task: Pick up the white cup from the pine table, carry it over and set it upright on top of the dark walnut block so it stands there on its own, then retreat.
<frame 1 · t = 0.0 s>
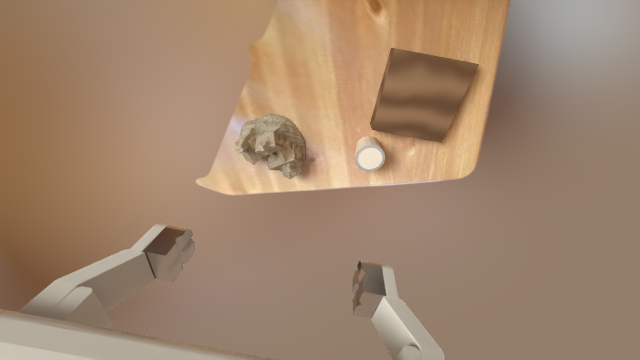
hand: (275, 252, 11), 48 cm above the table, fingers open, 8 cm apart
white cup: (367, 146, 59), on the table
walnut block: (414, 94, 52), on the table
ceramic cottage: (274, 143, 61), on the table
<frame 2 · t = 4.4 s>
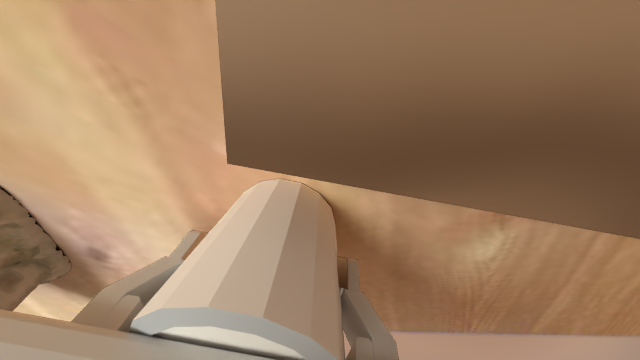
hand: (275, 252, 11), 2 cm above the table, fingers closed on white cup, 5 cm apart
white cup: (286, 218, 13), on the table, touching gripper
when the fingers open (8 cm above the table, at t = 10.5 s): white cup stays where it is, point 4 cm above the table.
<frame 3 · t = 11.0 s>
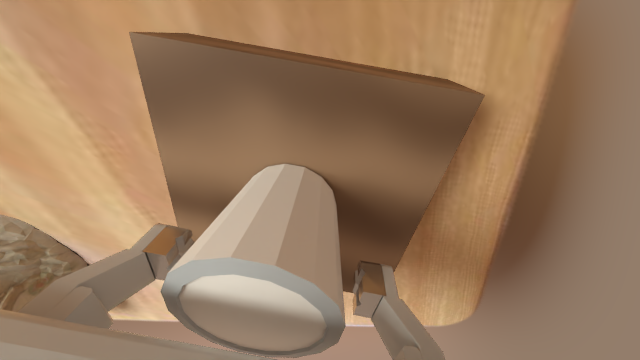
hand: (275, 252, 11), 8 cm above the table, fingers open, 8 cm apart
white cup: (291, 201, 15), point 4 cm above the table
walnut block: (304, 166, 19), on the table
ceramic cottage: (33, 258, 29), on the table
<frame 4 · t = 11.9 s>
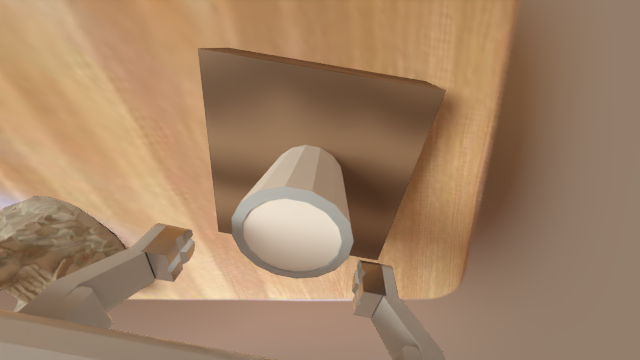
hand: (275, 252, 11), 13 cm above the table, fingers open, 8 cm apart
white cup: (308, 176, 19), point 4 cm above the table, touching walnut block
walnut block: (314, 152, 23), on the table, touching white cup
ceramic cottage: (73, 240, 34), on the table
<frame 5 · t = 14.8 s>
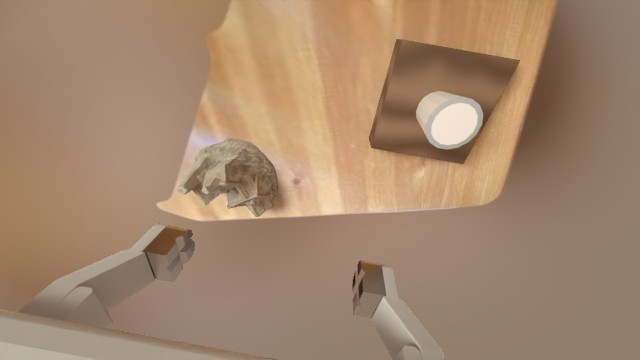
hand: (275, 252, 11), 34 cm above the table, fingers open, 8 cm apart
white cup: (434, 109, 35), point 4 cm above the table
walnut block: (426, 101, 39), on the table
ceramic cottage: (239, 172, 50), on the table
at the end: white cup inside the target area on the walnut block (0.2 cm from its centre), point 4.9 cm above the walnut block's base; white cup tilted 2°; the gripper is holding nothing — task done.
